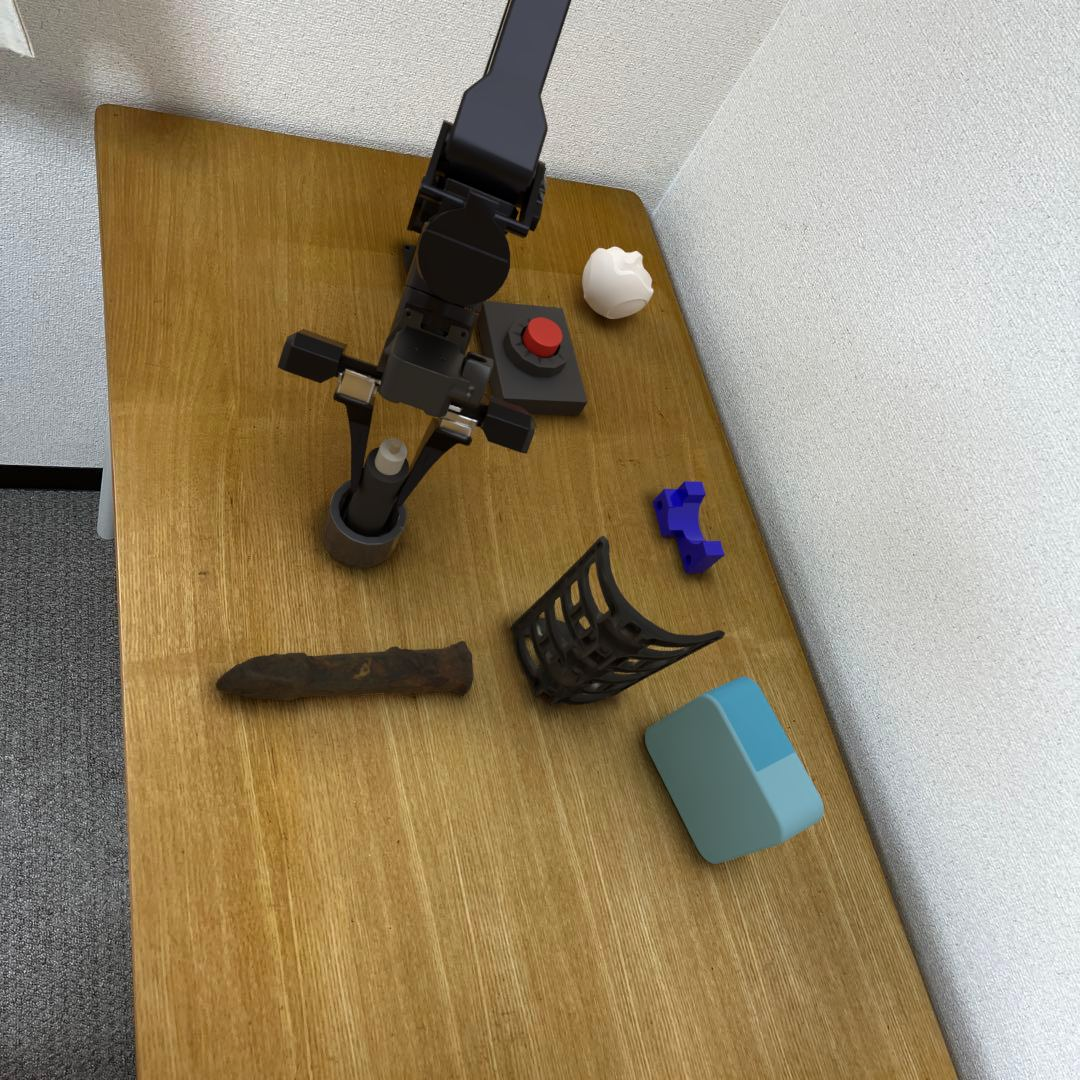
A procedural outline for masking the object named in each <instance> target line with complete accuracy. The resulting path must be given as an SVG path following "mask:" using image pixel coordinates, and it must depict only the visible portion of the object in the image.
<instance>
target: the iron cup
mask: <svg viewBox="0 0 1080 1080" xmlns="http://www.w3.org/2000/svg"><path fill="white" fill-rule="evenodd" d="M353 494H354V492H351V479H349V480H347V481H344V482H343V483H341V484H340V485H339V486H338V487H337V489H335V490H334V492H333V493H332V496H331V498H330V502H329V505H328V507H327V510H326V514H325V517H324V520H323V523H322V527H321V538H322V543H323V545H324V547H325V550H327V551H328V554H329V555H330V557H332V558H333V559H334V560H335V561H337V562H338V563H340V564H342V565H343V566H346V567H349V568H353V569H370V568H375V567H377V566H379V565H381V564H383V563H384V562H386V560H388V558H389V557H390V556H391V555H392V554H393V552H394V550H395V548H396V546H397V544H398V542H399V540H400V538H401V536H402V534H403V532H404V529H405V527H406V523H407V520H408V512H407V505H406V501H405V502H404V503H403V504H402V506H401V507H398V506H396V501H395V503H394V505H393V507H392V509H391V512H390V514H389V516H388V518H387V521H386V523H385V525H384V527H383V529H382V532H381V533H380V535H379V536H378V537H365V536H362V535H359V534H356V533H354V532H353V531H352V530H350V529H349V528H348V527H347V526H345V524H344V520H345V516H346V513H347V511H348V508H349V505H350V503H351V500H352V497H353ZM397 497H398V496H397ZM396 500H397V498H396Z"/></svg>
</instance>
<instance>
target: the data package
mask: <svg viewBox="0 0 1080 1080" xmlns="http://www.w3.org/2000/svg"><path fill="white" fill-rule="evenodd" d="M644 743H645V747H646V749H647V752H648V753H649V755H650V758H651V760H652V761H653V763H654V766H655V768H656V770H657V771H658V774H659V775H660V777H661V780H662V782H663V784H664V786H665V787H666V790H667V791H668V793H669V796H670V797H671V799H672V801H673V803H674V805H675V807H676V809H677V812H678V814H679V815H680V818H681V819H682V821H683V823H684V825H685V828H686V829H687V831H688V833H689V835H690V837H691V839H692V842H693V844H694V846H695V847H696V849H697V852H699V854H700V855H701V857H703V859H704V860H705V861H707V862H708V863H710V864H713V865H717V864H721V863H725V862H728V861H731V860H735V859H738V858H741V857H744V856H748V855H750V854H754V853H757V852H761V851H763V850H766V849H767V850H768V849H770V848H773V847H777V846H780V845H782V844H783V843H785V842H787V841H788V840H791V838H794V837H795V836H797V835H799V834H800V833H802V832H805V830H808V828H811V827H812V826H814V825H816V824H817V823H819V822H821V820H822V819H823V818H824V813H825V812H824V811H825V807H824V806H825V805H824V802H823V799H822V797H821V794H820V793H819V791H818V789H817V788H816V786H815V784H814V782H813V780H812V778H811V777H810V775H809V773H808V772H807V770H806V768H805V766H804V765H803V762H802V761H801V759H800V757H799V755H798V754H797V752H796V750H795V748H794V746H793V744H792V743H791V741H790V739H789V737H788V735H787V734H786V732H785V730H784V728H783V726H782V724H781V723H780V721H779V719H778V718H777V715H776V714H775V712H774V710H773V708H772V707H771V705H770V703H769V701H768V699H767V697H766V696H765V694H764V691H763V690H762V689H761V687H760V685H758V683H757V682H756V681H755V680H753V679H752V678H750V677H747V676H739V677H737V678H735V679H732V680H730V681H728V682H726V683H723V684H721V685H719V686H717V687H714V688H712V689H709V690H708V691H706V692H703V693H701V694H699V695H697V696H696V697H694V698H693V699H691V700H689V701H688V702H686V703H685V704H684V705H683V704H682V706H680V707H678V708H676V710H674V711H673V712H671V713H669V714H667V715H666V716H664V717H662V718H661V719H660V720H657V721H656V722H655V723H653V724H652V725H650V726H649V727H647V728H646V730H645V733H644Z"/></svg>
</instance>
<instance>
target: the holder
mask: <svg viewBox="0 0 1080 1080" xmlns="http://www.w3.org/2000/svg"><path fill="white" fill-rule="evenodd" d="M610 549H611V546H610V540H609V539H608V538H607V537H606V536H605V535H601V536H599V537H598V538H597V540H595V542H593V543H592V544H591V546H590V547H589V548H588V549H587V550H586V551H585V552H584V553H583V554H582V555H581V556H580V557H579V558H578V559H577V560H576V561H575V562H574V563H573V564H572V565H571V566H570V567H569V568H568V569H567V570H566V571H565V572H564V573H563V574H562V576H560V577H559V578H558V579H557V580H556V581H555V582H554V583H553V584H552V585H551V586H550V587H549V588H548V589H547V590H546V591H545V592H544V593H543V594H541V596H540V597H539V598H538V599H537V600H536V601H535V602H534V603H533V604H532V605H530V607H528V608H527V609H526V611H524V612H523V613H522V614H521V615H520V616H519V617H518V618H517V619H516V620H515V621H514V622H512V624H511V625H510V627H509V628H510V630H511V632H512V635H513V640H514V641H513V643H514V648H515V649H514V650H515V653H516V656H517V660H518V662H519V665H520V667H521V669H522V672H523V673H524V675H525V677H526V678H527V680H528V681H529V683H530V684H531V691H532V693H533V697H534V698H538V696H539V695H541V694H542V693H545V694H546V695H548V696H549V700H548V702H547V705H548V707H552V706H556V705H559V704H564V705H565V704H566V705H569V706H576V705H577V706H581V705H582V706H583V705H590V704H593V703H597V702H599V701H602V700H604V699H607V698H608V697H610V696H617V695H619V694H620V693H622V692H624V691H626V690H627V689H629V688H631V687H633V686H635V685H636V684H638V683H640V682H641V681H644V680H646V679H647V678H649V677H651V676H653V675H654V674H657V673H659V672H660V671H662V670H664V669H666V668H669V667H670V666H672V665H674V664H676V663H678V662H680V661H682V660H683V659H686V658H687V657H689V656H691V655H693V654H695V653H697V652H698V651H701V650H702V649H704V648H706V647H709V646H710V645H712V644H714V643H717V642H718V641H720V640H722V639H723V638H724V637H725V635H726V632H725V631H724V630H721V629H716V630H713V631H709V632H706V633H703V634H702V633H701V634H680V633H679V634H678V633H674V632H670V631H669V630H666V629H664V628H662V627H660V626H658V625H657V624H656V623H654V622H653V621H651V620H649V619H648V618H646V617H645V616H644V615H642V613H640V612H639V611H638V610H637V609H636V608H635V607H634V606H633V605H632V604H631V603H630V602H629V601H628V600H627V599H626V598H625V596H624V595H623V593H622V592H621V590H620V588H619V586H618V584H617V582H616V579H615V577H614V574H613V571H612V565H611V556H610V555H611V553H610V552H611V551H610ZM592 565H595V569H596V577H597V581H598V584H599V587H600V591H601V593H602V594H601V595H602V596H603V600H604V603H605V605H606V606H607V608H608V610H607V611H606V612H605V613H604V612H602V611H600V609H599V607H598V605H597V603H596V601H595V598H594V596H593V593H592V589H591V584H590V571H591V570H590V569H591V567H592ZM575 583H577V590H578V591H577V592H578V597H579V598H578V602H577V603H576V604H574V603H573V599H572V585H574V584H575ZM558 599H560V608H561V613H562V617H563V620H564V621H562V620H559V619H557V617H556V609H555V607H556V601H557V600H558ZM542 614H543V615H544V617H541V615H542ZM582 618H585V619H586V620H587V622H588V624H589V626H588V627H587V628H585V627H584V626H583V625H582V623H581V622H580V620H581V619H582ZM526 637H530V641H531V643H532V647H533V649H534V652H535V656H536V657H537V659H538V661H539V663H540V665H539V666H538V665H536V662H535V661H534V659H533V658H532V656H531V653H530V651H529V649H528V647H527V642H526ZM651 646H652V647H653V646H654V647H660V648H672V650H659V649H655V648H650V647H651ZM674 648H676V649H674ZM630 660H635V661H630Z"/></svg>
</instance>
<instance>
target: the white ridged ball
mask: <svg viewBox="0 0 1080 1080" xmlns="http://www.w3.org/2000/svg"><path fill="white" fill-rule="evenodd" d="M643 259H644V256H643V255H642V253H640V252H639V251H637V250H634V251H631V252H626V251H625V250H623V249H622V248H620V247H618V246H612V247H609V248H607V249H605V248H602V247H598V248H597V249H596V250H594V251H593V252H592V253H591V254H590V256H589V258H588V260H587V262H586V263H585V266H584V268H583V272H582V278H581V287H582V291H583V298H584V300H585V302H586V303H587V305H588V306H589V307H590V309H592V310H593V311H594V312H595V313H597V314H598V315H600V316H603V317H604V318H607V319H610V320H617V319H623V318H626V317H629V316H632V315H634V314H636V313H638V312H640V311H641V310H643V309H644V308H645V307H647V305H648V303H649V301H650V300H651V298H652V297H653V294H654V288H653V287H652V284H653V279H652V277H651V275H650V273H649V272H648V270H646V269H645V267H644V264H643Z"/></svg>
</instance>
